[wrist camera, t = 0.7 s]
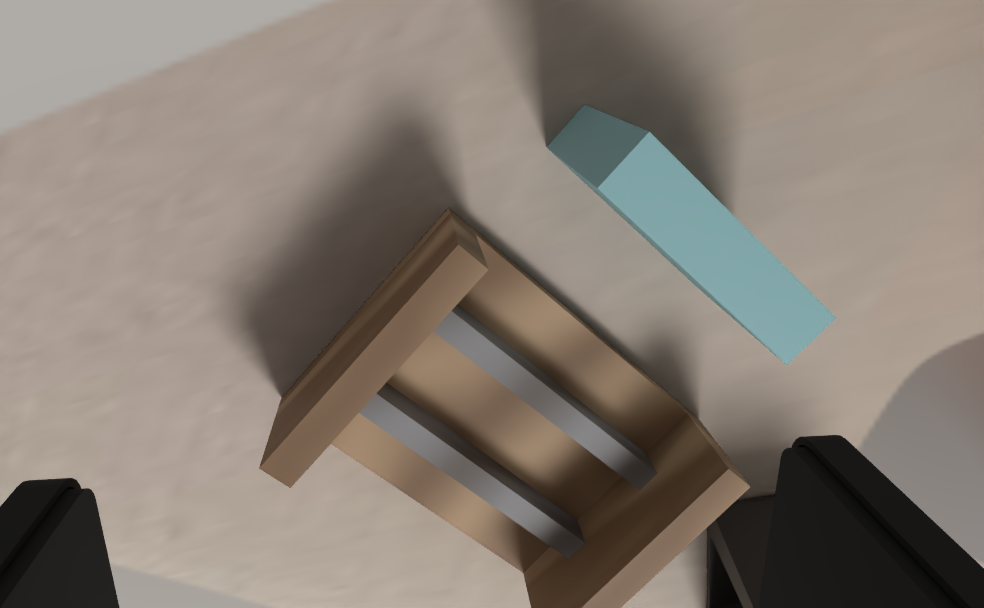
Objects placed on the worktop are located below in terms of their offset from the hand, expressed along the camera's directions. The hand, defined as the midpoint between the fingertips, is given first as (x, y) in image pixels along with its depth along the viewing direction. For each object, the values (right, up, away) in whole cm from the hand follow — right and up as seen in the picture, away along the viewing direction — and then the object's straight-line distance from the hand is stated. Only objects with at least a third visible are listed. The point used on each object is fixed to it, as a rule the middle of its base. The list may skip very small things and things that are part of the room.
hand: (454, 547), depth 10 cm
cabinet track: (+1, -2, +26) cm, 26 cm away
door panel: (+7, +8, +24) cm, 26 cm away
